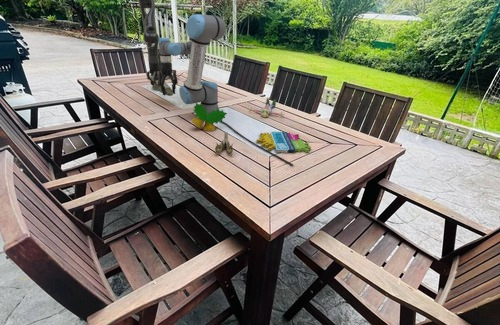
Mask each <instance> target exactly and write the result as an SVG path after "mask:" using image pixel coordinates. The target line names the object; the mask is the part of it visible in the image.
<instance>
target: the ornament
mask: <svg viewBox="0 0 500 325" xmlns="http://www.w3.org/2000/svg"><path fill="white" fill-rule="evenodd" d="M219 110H220V108H219V109H217V110H216V111H214V110H212V112H211V113H208V112H206V109H204V106H201V103H197V102H196V103H195V105H194V106H193V112H194V113H195V118H192V119H191V122H192V123H193V125H195V127H197V128H198V129H202V130H203V131H206V132H212V131H213V132H214V131H215V130H216V126H215V124H218V123H219V122H220V121H221V122H220V123H222V122H223V119H226V115H227V114H228V113H227V112H224V110H223V109H221V110H220V111H219ZM207 113H208V115H207ZM214 123H215V124H214Z"/></svg>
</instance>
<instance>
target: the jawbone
mask: <svg viewBox="0 0 500 325" xmlns="http://www.w3.org/2000/svg"><path fill="white" fill-rule="evenodd" d="M223 135H224V136H223V140H222V139H221V142H220V144H218V142H215V144H216V146H215V148H214V149H215V152H214V154H215V155H217V156H218V155H220V153H221V152H223V151H224V150H226V152H227V153H228V155H229V156H233V155H234V154H233V153H234V148H233V144H234V143H230V140H228V139H229V138H228V137H229V136H228V135H229V133H228V131H226V132H224V134H223Z"/></svg>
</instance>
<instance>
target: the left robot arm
mask: <svg viewBox="0 0 500 325" xmlns="http://www.w3.org/2000/svg"><path fill="white" fill-rule="evenodd" d="M155 2H156V1H155V0H138V4H139V9H140V10H139V11H140V13H141V18H142V19H141V20H142V25H143V36H142V38H143V41H144V43H146V49H147V50H146V51H147V60H148V61H147V62H148V69H149V70H148V71H145V75H146V79H147V80H149V81H150V82H149V83H150V85H151V86H153V85H154V84H153V81H154V80H156V81H157V80H158V71H161V61H160V51H159V38H160V36H159V33H157V26H156V22H155V14H156V12H155V11H156V3H155ZM146 9H149V10H148V12H147V11H146ZM162 75H163V73H162V74H161V80H162Z"/></svg>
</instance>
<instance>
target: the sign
mask: <svg viewBox="0 0 500 325" xmlns="http://www.w3.org/2000/svg"><path fill="white" fill-rule="evenodd" d="M299 136H300V135H299V134H298V133H296V134H294V133H291V132H287V131H270V132H264V133H263V132H260V133H259V139H258V138H257V139H256V143H257V144H261V147H262V148H264V149H267V150H268V151H269V152H271V151H272V150H273V149H275V152H276V153H283V154H285V153H287V154H288V153H290V154H293V153H296V152H298V153H301V152H305V153H310V151H311V150H312V149H311V148H312V146H309V142H304V141H303V139H302V138H299Z"/></svg>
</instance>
